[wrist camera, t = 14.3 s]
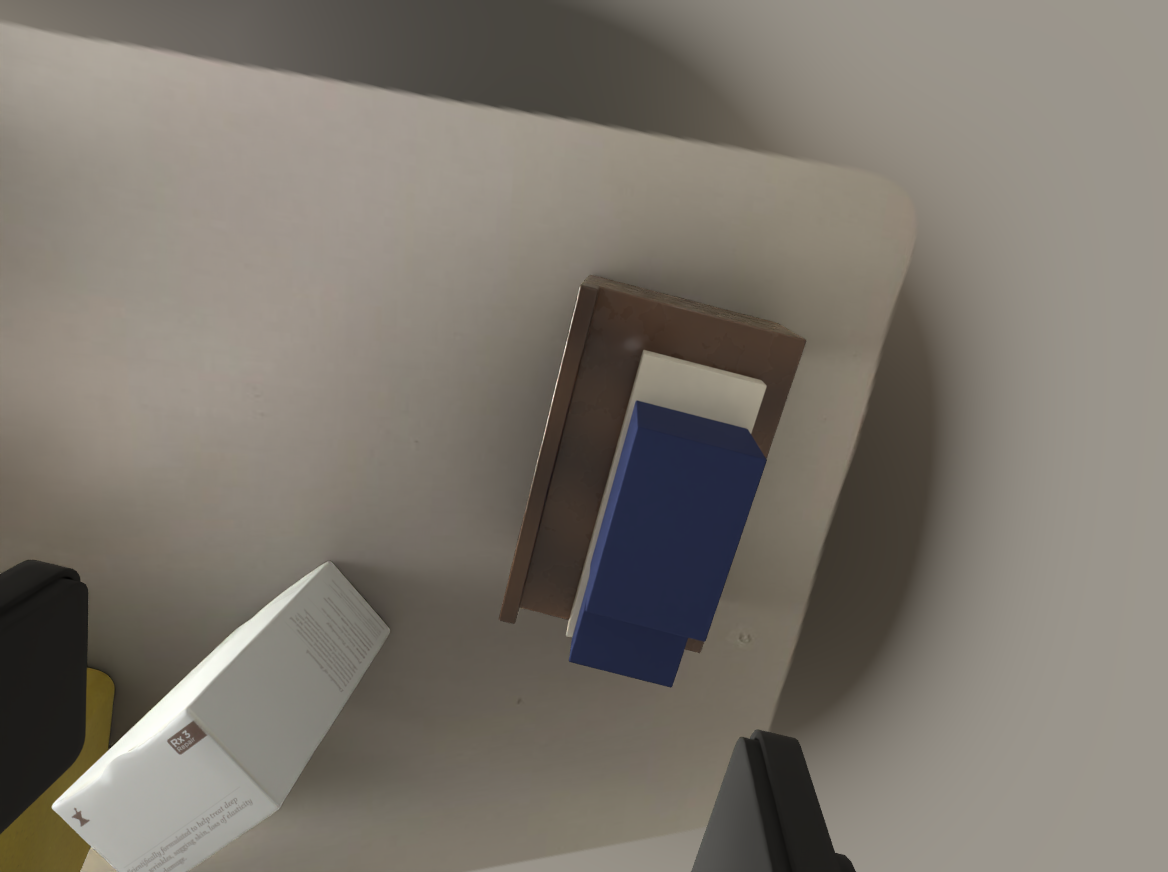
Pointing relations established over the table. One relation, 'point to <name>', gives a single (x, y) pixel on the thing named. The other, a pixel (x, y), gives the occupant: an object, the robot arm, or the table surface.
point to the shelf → (596, 413)
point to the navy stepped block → (667, 518)
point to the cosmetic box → (229, 732)
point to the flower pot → (39, 835)
